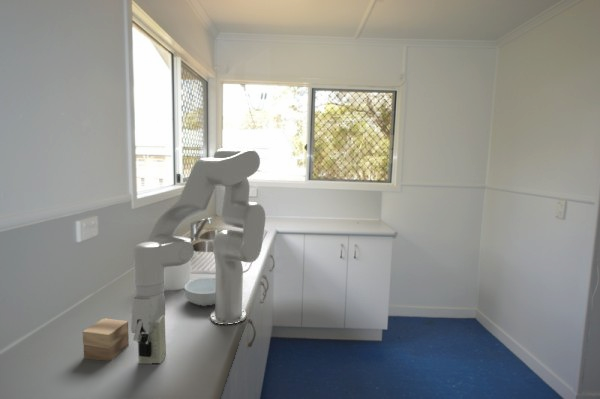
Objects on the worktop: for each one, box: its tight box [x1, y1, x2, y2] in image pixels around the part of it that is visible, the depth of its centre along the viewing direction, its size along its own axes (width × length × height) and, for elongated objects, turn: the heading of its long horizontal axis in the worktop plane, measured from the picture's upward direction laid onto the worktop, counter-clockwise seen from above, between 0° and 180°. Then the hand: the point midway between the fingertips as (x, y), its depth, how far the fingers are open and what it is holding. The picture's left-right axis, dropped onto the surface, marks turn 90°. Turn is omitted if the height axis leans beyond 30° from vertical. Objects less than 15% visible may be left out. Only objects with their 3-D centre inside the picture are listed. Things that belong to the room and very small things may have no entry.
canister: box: [164, 236, 192, 291], centre depth 147 cm, size 14×14×20 cm
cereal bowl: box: [183, 277, 215, 307], centre depth 132 cm, size 17×17×7 cm
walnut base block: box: [83, 334, 130, 362], centre depth 96 cm, size 8×8×4 cm
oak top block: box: [82, 317, 129, 349], centre depth 96 cm, size 8×8×4 cm
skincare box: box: [137, 314, 167, 364], centre depth 93 cm, size 6×4×12 cm
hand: (150, 349), depth 93 cm, fingers closed on skincare box, 4 cm apart
